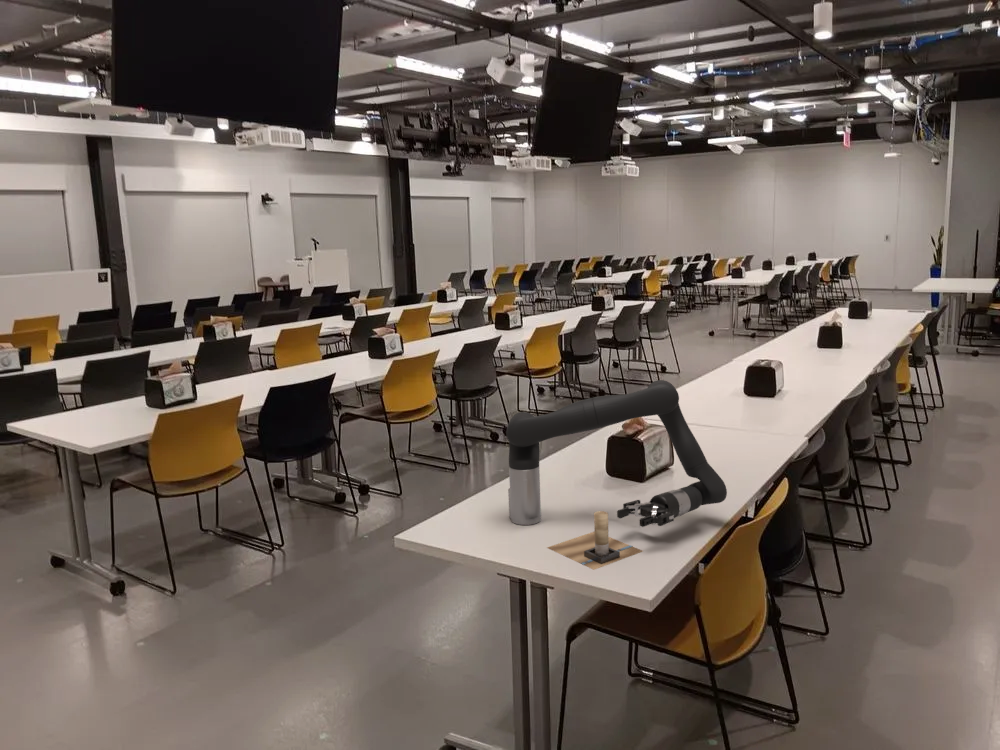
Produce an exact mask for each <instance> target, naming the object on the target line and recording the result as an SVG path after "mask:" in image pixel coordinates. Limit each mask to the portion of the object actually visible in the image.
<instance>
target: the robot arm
mask: <svg viewBox="0 0 1000 750" xmlns="http://www.w3.org/2000/svg"><path fill="white" fill-rule="evenodd" d="M679 401H680V396H679V392H678V390H677V388H676V387H675V386H674V384H672V383H671V382H669V381H668V380H665V379H659V380H654V381H653V382H651V383H650V384H649V385H648V386H647V387H646V388H644V389H642V390H637V391H634V392H631V393H625V394H611V395H601V396H600V395H599V396H594V397H589V398H585V399H581V400H578V401H575V402H572V403H570V404H567V405H565V406H563V407H561V408H558V409H557V410H555V411H552V412H549V413H546V414H542V415H540V414H539V415H533V414H532V413H529V412H527V411H520V412H517V413H515V414H514V415H513V416H512V417H511V418H510V419H509V422H508V424H507V427H506V432H505V433H506V438H507V440H508V447H509V448H508V449H509V450H508V473H509V474H508V476H509V479H508V480H509V488H508V489H507V490H508V492H507V493H508V515H509V516H508V518H509V519H510V522H512V523H513V524H516V525H520V526H521V525H522V526H528V525H529V526H531V525H534V524H537V523H540V522H541V520H542V509H541V506H542V505H541V479H540V477H541V474H540V453H541V452H540V442H544V441H547V440H550V439H553V438H556V437H562V436H567V435H568V436H569V435H574V434H578V433H582V432H584V433H585V432H588V431H590V432H591V431H593V430H597V429H602V428H606V427H609V426H612V425H616V424H620V423H623V422H626V421H628V420H629V421H630V420H632V419H633V420H634V419H637V418H643V417H651V416H658V418H659V419H660V421H661V422H662V425H663V426H664V428H665V430H666V432H667V434H668V436H669V439H670V441H671V444H672V446H673V449H674V451H675V453H676V455H677V458H678V460H679V461H680V464H681V465H682V467H683V470H684V472H685V473H686V475H687V476H688V477H690V478H694V479H697V480H699V481H695V482H692V483H691V484H688V485H687V486H683V487H681V488H677V489H672V490H668V491H664V492H662V493H659V494H655V495H654V496H652V497H651V499H650V501H648V502H644V503H641V499H636V500H632V501H628V502H625V503H623V507H622V508H620V509H618V510H616V513H617V514H616V517H617V519H622V518H626V517H628V516H629V517H630V516H635V517H637V518H640V519H639V527H641V528H644V527H646V526H649V525H656V524H657V526H659V527H661V526H665V525H667V524H670V523H672V522H674V521H675V519H676V518H678V517H682V516H683V515H685V514H687V513H690V512H693V511H695V510H697V509H698V508H700V507H701V506H706V505H711V504H712V505H715V504H720V503H722V502H724V501H725V500H726V498H727V496H728V495H727V494H728V488H727V485H726V484H725V482H724V480H723V478H721V476H720V475H719V474H718V473H717V471H716V470H715V469H714V468H713V467H712V466H711V464H709V462H708V460H707V458H706V456H705V454H704V452H703V450H702V448H701V446H700V444H699V442H698V441H697V438H696V437H695V436H694V434H693V432H692V430H691V428H690V427H689V425H688V423H687V421H686V419H685V417H684V414H683V413H682V410H681V407H680V404H679ZM639 510H640V511H639Z"/></svg>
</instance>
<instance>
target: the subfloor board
mask: <svg viewBox="0 0 1000 750" xmlns="http://www.w3.org/2000/svg"><path fill="white" fill-rule="evenodd" d="M608 539H609V548H611V549H614V550H616V551H618V552H620V557H619V558H617V559H614V560H611V561H609V562H606V563H603V564H600V563H598V562H595V561H593V560H591V559H589V558H587V557H584V551H586V550H589V549H591V548H594V547H595V530H594V531H592V532H589V533H586V534H583V535H580V536H579V535H578V536H577V537H574V538H570V539H568V540H565V541H563V542H560V543H556V544H554V545H551V546H547V547H546V549H549V550H551V551H553V552H555V553H557V554H559V555H561V556H563V557H566V558H567V559H570V560H572V561H574V562H576V563H579V564H581V565H583V566H585V567H588V568H589V569H591V570H594V571H595V570H597V569H601V568H603V567H605V566H606V567H607V566H608V565H611V564H613V563H616V562H618V561H621V560H625V559H626V558H629V557H632V556H635V555H637V554H640V553H642V552H644V550H642V549H640V548H637V547H635V546H633V545H631V544H627V543H625V542H623V541H620V540H618V539H615V538H613V537H610V536H608Z"/></svg>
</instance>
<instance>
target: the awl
mask: <svg viewBox="0 0 1000 750" xmlns="http://www.w3.org/2000/svg"><path fill="white" fill-rule="evenodd" d="M593 519H594V525H593V526H594V527H593V528H594V531H595V554H596V555H598V556H600V557H603V556H606V555H608V554H609V539H608V537H609V514H608V512H607V511H602V510H601V511H600V510H598V511H595V512H593Z"/></svg>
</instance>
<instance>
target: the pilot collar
mask: <svg viewBox="0 0 1000 750" xmlns="http://www.w3.org/2000/svg"><path fill="white" fill-rule="evenodd" d="M584 557H587V558H589V559H591V560H593V561H595V562H598V563H600V564H603V563H606V562H609V561H611V560H614V559H617V558H619V557H620V552H618V551H616V550H614V549H611V548H609V554H608V555H606V556H603V557H600V556H598V555H596V554H595V547H594V548H591V549H589V550H586V551H584Z"/></svg>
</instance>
